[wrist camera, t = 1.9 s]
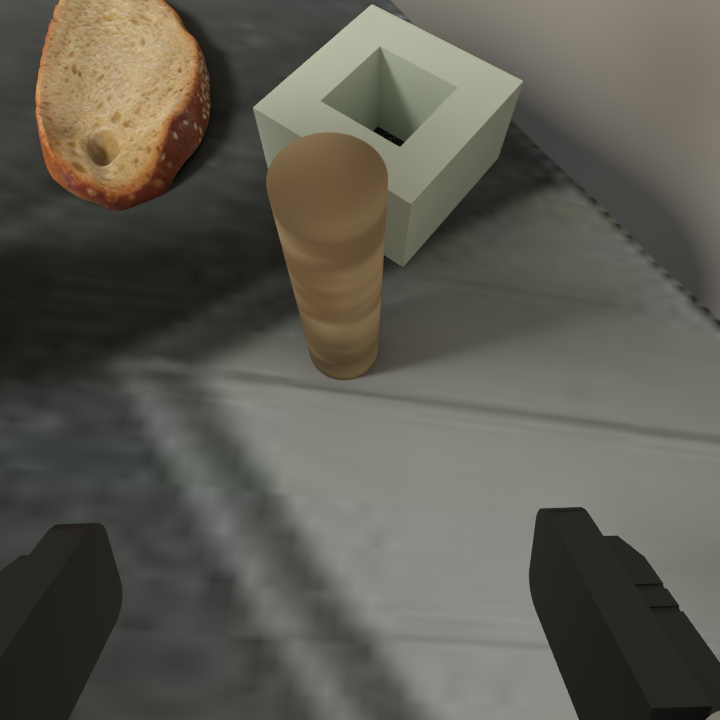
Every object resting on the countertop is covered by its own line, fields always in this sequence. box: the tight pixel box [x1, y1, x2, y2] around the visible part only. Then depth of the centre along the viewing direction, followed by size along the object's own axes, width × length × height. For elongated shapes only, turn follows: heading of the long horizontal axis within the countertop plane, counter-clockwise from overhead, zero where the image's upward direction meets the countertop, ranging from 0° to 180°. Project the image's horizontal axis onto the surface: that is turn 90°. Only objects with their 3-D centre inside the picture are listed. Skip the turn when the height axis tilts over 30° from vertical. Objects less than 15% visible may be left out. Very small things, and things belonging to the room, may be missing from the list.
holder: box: [253, 5, 523, 267], centre depth 32 cm, size 11×11×6 cm
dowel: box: [266, 132, 388, 380], centre depth 23 cm, size 4×4×14 cm
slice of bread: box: [36, 0, 210, 211], centre depth 36 cm, size 18×18×4 cm
